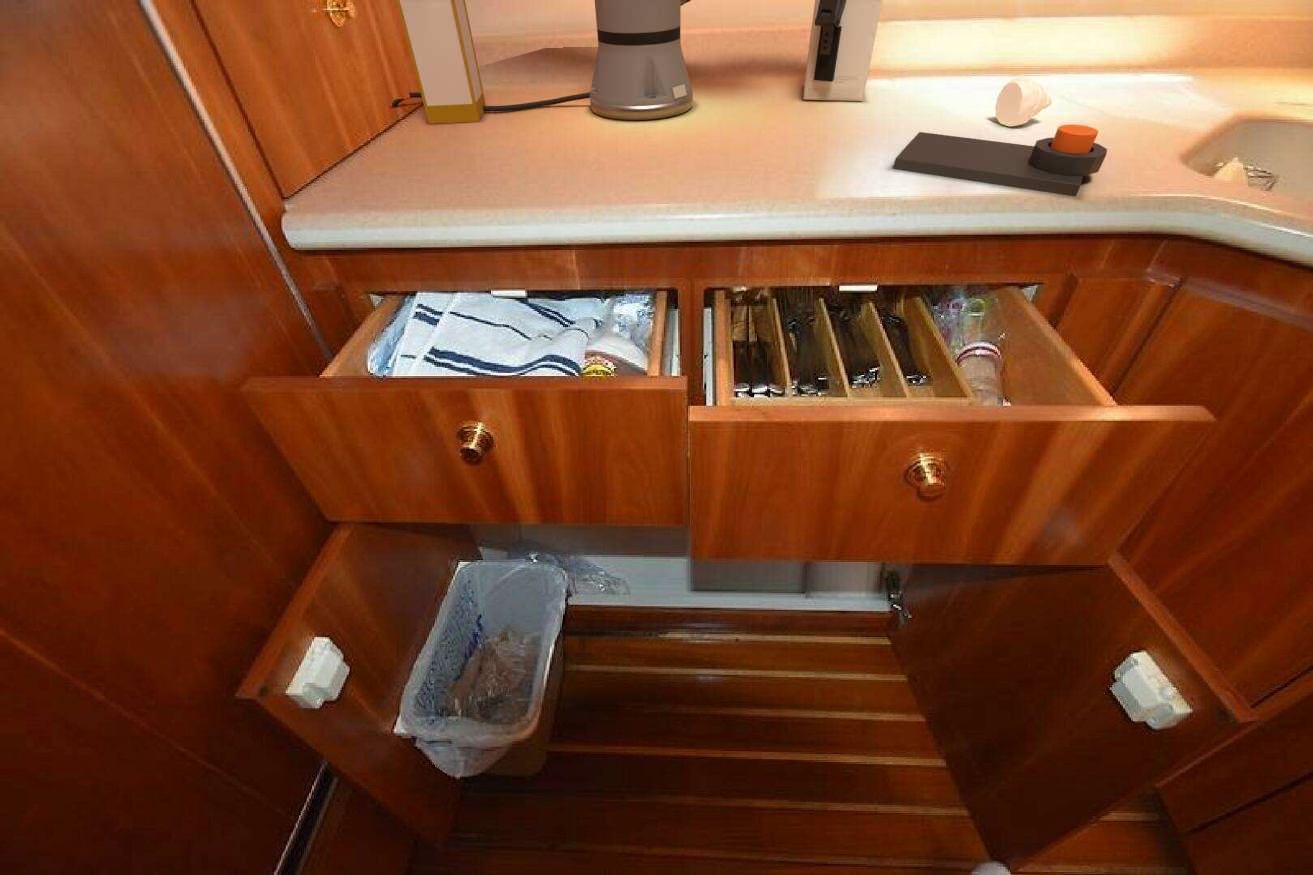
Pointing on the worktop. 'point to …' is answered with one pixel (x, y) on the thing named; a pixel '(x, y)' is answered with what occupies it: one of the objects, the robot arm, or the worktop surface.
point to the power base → (1000, 162)
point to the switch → (1074, 139)
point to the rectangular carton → (845, 53)
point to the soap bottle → (443, 59)
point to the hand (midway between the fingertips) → (836, 72)
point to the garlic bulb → (1020, 101)
